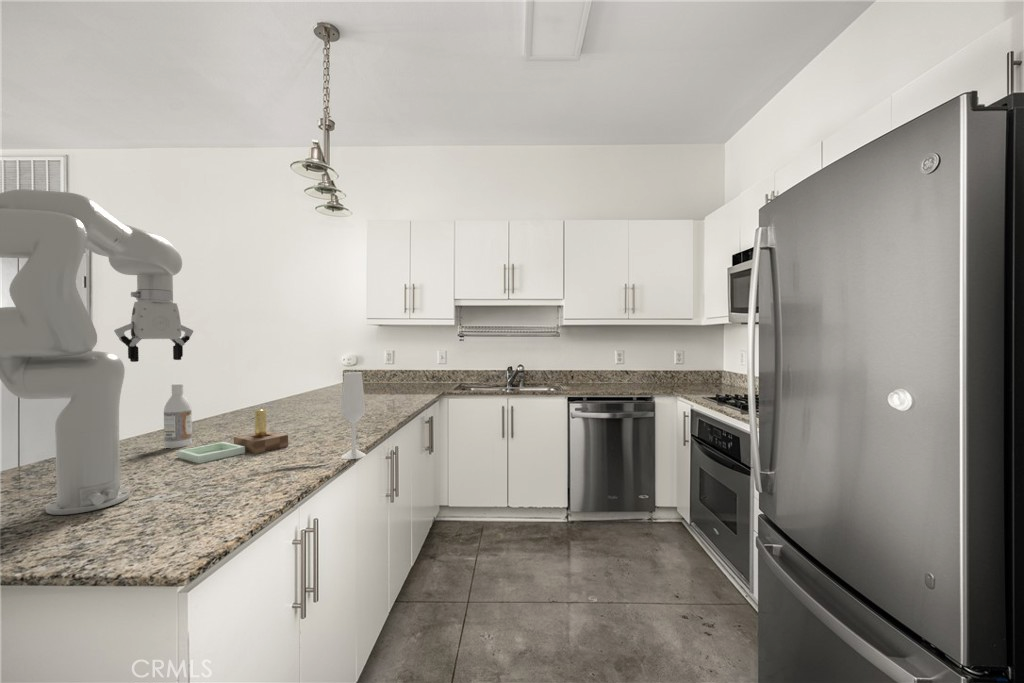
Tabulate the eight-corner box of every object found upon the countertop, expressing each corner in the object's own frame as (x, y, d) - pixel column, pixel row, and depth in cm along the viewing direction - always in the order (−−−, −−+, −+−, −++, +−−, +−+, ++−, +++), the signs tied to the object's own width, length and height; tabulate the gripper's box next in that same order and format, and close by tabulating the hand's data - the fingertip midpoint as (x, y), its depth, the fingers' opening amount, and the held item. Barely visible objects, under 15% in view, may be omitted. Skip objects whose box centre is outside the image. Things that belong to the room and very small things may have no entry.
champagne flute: (347, 452, 130) (347, 371, 130) (369, 452, 130) (368, 371, 130) (337, 458, 124) (336, 373, 123) (360, 459, 123) (359, 373, 123)
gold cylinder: (268, 448, 136) (268, 409, 136) (259, 450, 134) (258, 411, 134) (263, 447, 138) (262, 409, 138) (253, 449, 135) (252, 410, 135)
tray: (244, 455, 129) (244, 446, 129) (198, 465, 118) (198, 456, 118) (223, 450, 135) (223, 441, 135) (177, 459, 124) (177, 450, 124)
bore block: (288, 447, 137) (288, 434, 137) (255, 455, 128) (255, 441, 128) (266, 443, 143) (266, 430, 143) (233, 450, 135) (233, 437, 134)
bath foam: (185, 449, 136) (184, 384, 136) (159, 450, 135) (158, 385, 135) (196, 443, 143) (195, 382, 143) (171, 445, 142) (170, 383, 142)
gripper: (120, 294, 110) (121, 362, 110) (198, 299, 125) (199, 359, 125) (108, 296, 114) (109, 362, 114) (185, 300, 129) (186, 359, 129)
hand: (156, 360), depth 119 cm, fingers open, 9 cm apart
